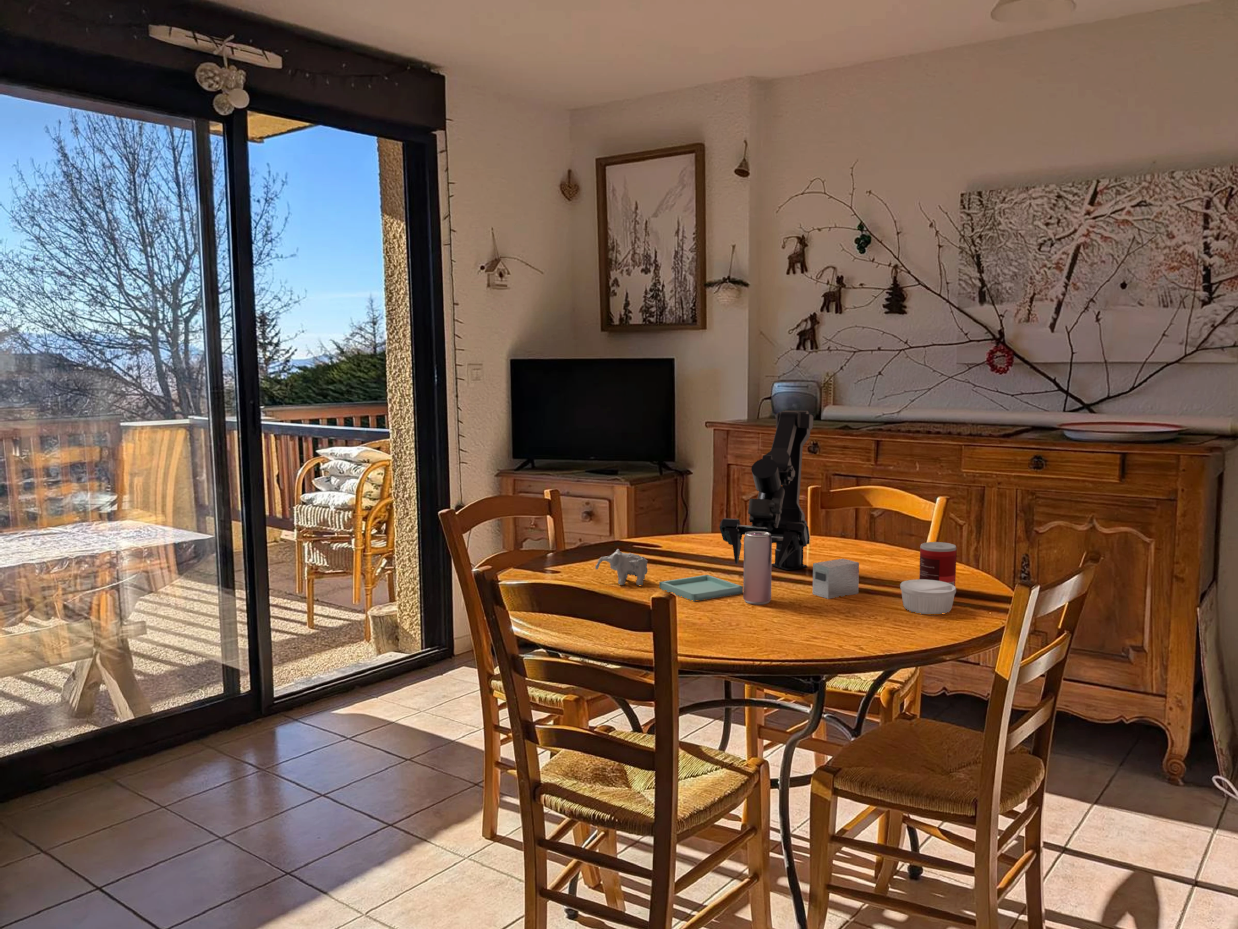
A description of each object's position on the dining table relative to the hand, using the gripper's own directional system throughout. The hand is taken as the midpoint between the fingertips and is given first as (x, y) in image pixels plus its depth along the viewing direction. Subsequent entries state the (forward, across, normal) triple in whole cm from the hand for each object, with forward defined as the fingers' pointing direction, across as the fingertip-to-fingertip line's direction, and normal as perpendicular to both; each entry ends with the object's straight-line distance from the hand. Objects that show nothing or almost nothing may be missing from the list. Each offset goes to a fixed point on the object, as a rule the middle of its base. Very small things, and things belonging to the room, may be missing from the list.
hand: (756, 564), depth 213 cm
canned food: (-9, +36, +21) cm, 42 cm away
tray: (+2, -14, +10) cm, 17 cm away
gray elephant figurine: (+1, -33, +11) cm, 35 cm away
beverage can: (+6, 0, +7) cm, 9 cm away
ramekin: (+2, +35, +11) cm, 37 cm away
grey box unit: (-4, +15, +15) cm, 22 cm away
